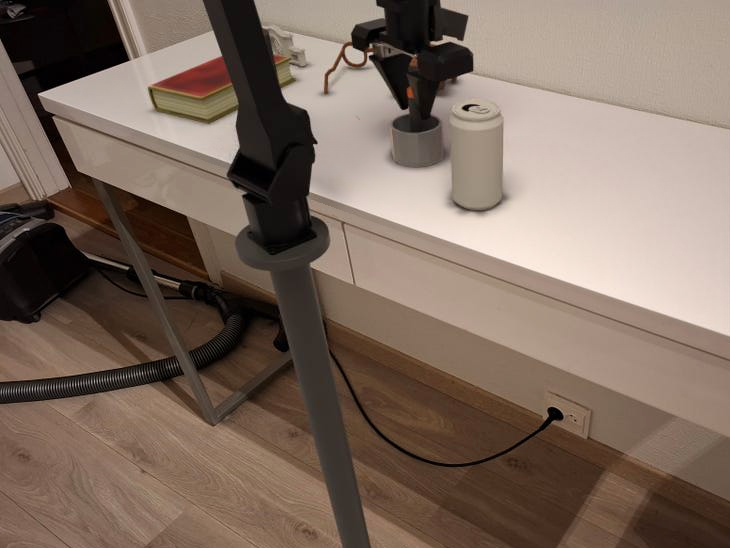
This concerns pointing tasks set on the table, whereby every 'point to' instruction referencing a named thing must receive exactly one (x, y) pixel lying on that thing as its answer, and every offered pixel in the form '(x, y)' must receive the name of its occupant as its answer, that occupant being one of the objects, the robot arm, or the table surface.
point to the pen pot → (416, 141)
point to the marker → (414, 113)
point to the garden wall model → (285, 45)
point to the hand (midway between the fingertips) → (415, 114)
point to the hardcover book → (205, 90)
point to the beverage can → (476, 153)
